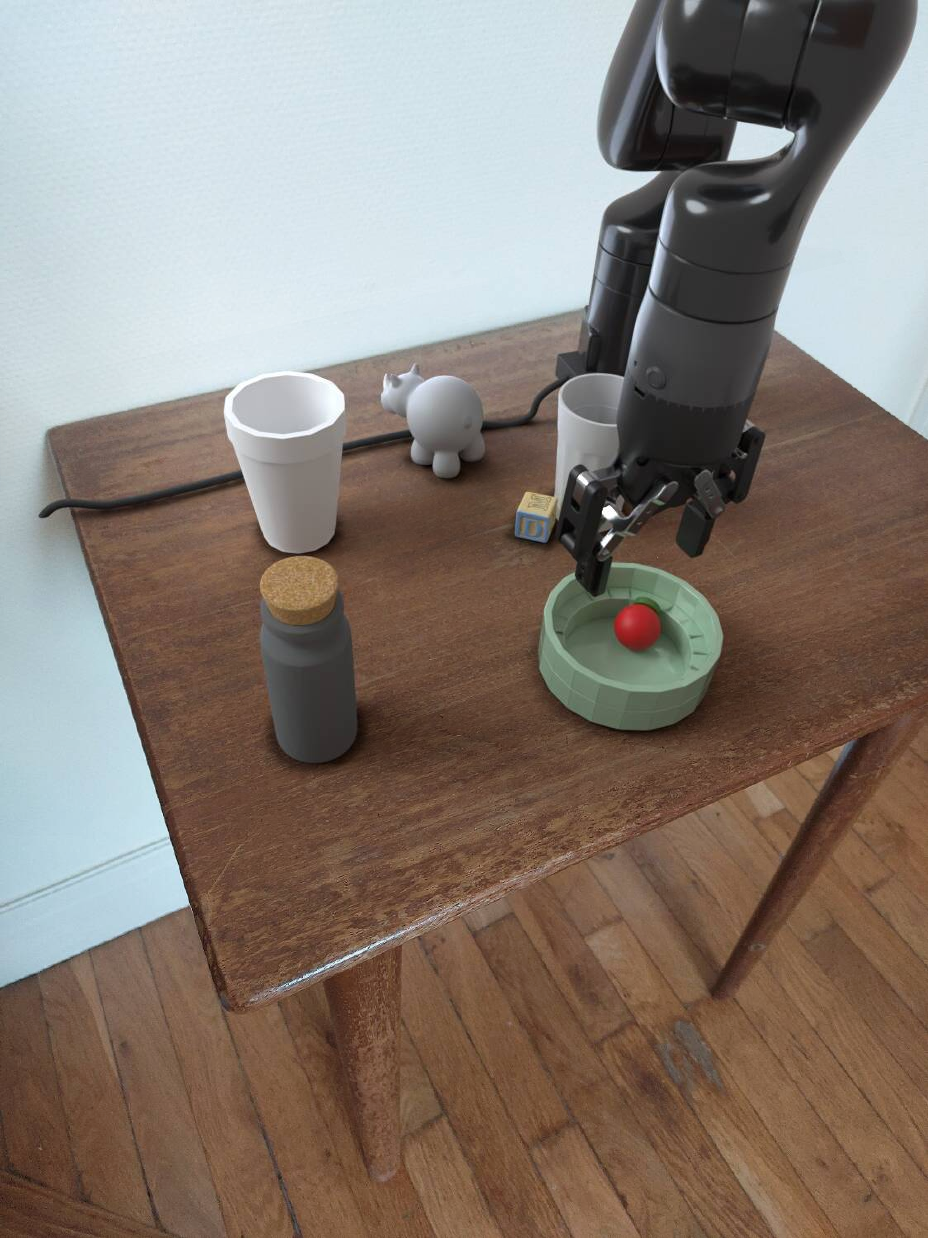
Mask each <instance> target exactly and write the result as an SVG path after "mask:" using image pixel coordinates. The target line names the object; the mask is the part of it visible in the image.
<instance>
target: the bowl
mask: <svg viewBox="0 0 928 1238" xmlns="http://www.w3.org/2000/svg"><path fill="white" fill-rule="evenodd" d="M638 597H647V598H650V599H652V600H654V601H655V602H657V603H658V605H659V606H660V613H659V615H658V617H659V620H660V623H661V631H660V635H659V637H658V639H657V641H656V642H655V643H654V644H653V645H652V646H650V647H648V648H646V649H643V650H632V649H629V648H626V647H625V646H623V645H622V644H621V643H620V642H619V641H618V639H617V637H616V635H615V632H614V623H615V619H616V617H617V615H618V614H619V612H620V611H621V610H623V609H624V608H625V607H627V606H630V605H632V604H633V602H634V600H635V599H636V598H638ZM723 641H724V632H723V629H722V625H721V622H720V618H719V615H718V613H717V612H716V611H715V609H714V608H713V606H712V605H711V603H710V602H709V600H708V599H707V598H706V596H705V595H703V594H702V593H701V592H699V590H698V589H696V588H695V587H693V586H692V585H691V584H690V583H689V582H688V581H686V580H684V579H682V578H680V577H678V576H676V575H674V574H672V573H670V572H668V571H666V570H665V569H661V568H658V567H653V566H649V565H645V564H641V563H635V562H618V561H617V562H616V561H614V562H613V561H612V564H611V569H610V573H609V577H608V582H607V586H606V590H605V593H604V594H602V595H599V596H597V597H593V596H592V595H591V594H590V593H589V592H587V591H586V590H585V589H584V588H583V587H582V586H581V584H580V583H579V582H578V581H577V580H576V578H575V571H574V572H573V573H570V574H569V575H566V576H565V577H564V578H563V579H561V580H560V582H559V583H558V584H557V585H556V586H555V587H554V588H553V589H552V590H551V591H550V593H549V596H548V598H547V601H546V603H545V606H544V609H543V614H542V621H541V627H540V634H539V640H538V648H537V656H538V657H537V658H538V668H539V671H540V673H541V675H542V678H543V679H544V682H545V684H546V687H547V688H548V689H549V692H551V693H552V694H553V696H555V697H556V699H558V700H559V701H560V702H561V703H562V704H563V705H564V706H565V707H566V708H567V709H568V710H570V711H571V712H573V713H575V714H576V715H579V716H580V717H582V718H584V719H586V720H587V721H589V722H591V723H594V724H597V725H601V726H604V727H607V728H612V729H615V730H620V731H652V730H655V729H660V728H664V727H667V726H671V725H674V724H676V723H678V722H680V721H681V720H682V719H684V718H686V717H687V716H689V715H690V714H692V713H694V711H695V710H696V709H697V707H698V706H699V705H700V703H701V702H702V701H703V699H704V697H705V696H706V695H707V692H708V689H709V687H710V684H711V681H712V679H713V676H714V673H715V671H716V668H717V665H718V662H719V660H720V657H721V653H722V648H723Z"/></svg>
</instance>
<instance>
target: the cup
mask: <svg viewBox="0 0 928 1238" xmlns="http://www.w3.org/2000/svg"><path fill="white" fill-rule="evenodd" d="M623 381H624V377H622V376H618V375H612V374H604V373H593V374H585V375H580V376H577V377H574V378H572V379H570V380H569V381H567V382H566V383H565V384H564V385H563V386H561V387H560V389H559V391H558V401H557V447H556V465H555V466H556V467H555V482H554V483H555V485H554V494H553V497H556V498H557V499H558V502H557V510H556V518H555V520H557V521H558V520H559V516H560V511H561V507H562V503H563V498H564V494H565V489H566V485H567V481H568V476H569V473H570V471H571V470H572V468H574V467H575V466H576V465H579V464H582V465H584V466H585V467H586V468H587V469H588V470H589V471H595V470H599V469H602V468H606V467H609V464H610V462H611V460H612V459H613V457H614V456H615V454H616V452H617V450H618V448H619V438H618V431H617V424H616V416H617V411H618V406H619V401H620V396H621V391H622V386H623ZM624 503H625V500H624V499H623V497H622V496H621V494H620V496H619V497H618V498H617V500H616V506H617V508H618V509H619V510H620V511H621V512H622V510H623V507H624ZM611 528H612V524H611V522H610V521H609V520H607V521H606V522H605V524H604V525H603V526H602V527H601V529H600V530H599V531H598V533H599V534H600V533H603V532H606V531H610V530H611Z"/></svg>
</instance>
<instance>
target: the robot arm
mask: <svg viewBox="0 0 928 1238" xmlns="http://www.w3.org/2000/svg"><path fill="white" fill-rule="evenodd" d="M918 11H919V0H635V2H634V5H633V6H632V10H631V12H630V14H629V16H628V19H627V21H626V24H625V27H624V29H623V31H622V34H621V37H620V38H619V41H618V44H617V46H616V48H615V50H614V53H613V56H612V58H611V60H610V64H609V66H608V68H607V72H606V75H605V79H604V82H603V85H602V88H601V93H600V96H599V103H598V107H597V115H596V142H597V146H598V150H599V152H600V155H601V158H602V159H603V160H604V161H605V162H606V164H607V165H608V166H610V167H612V169H613V168H614V169H615V170H619V171H623V172H632V173H653V172H655V173H657V172H658V173H657V175H656V176H654V177H653V178H652V179H650V181H648V182H646V184H644V185H642V186H640V187H638V188H637V189H634V190H633V191H631V192H629V193H626V194H624V195H623V196H619V197H618V198H616V199H615V200H613V201H611V203H610V204H608V205H607V206H606V208H605V209H604V212H603V214H602V216H601V221H600V227H599V234H598V242H597V248H596V254H595V260H594V267H593V273H592V280H591V287H590V293H589V298H588V299H589V300H588V304H586V305H585V306H584V307H583V312H582V319H581V325H580V332H579V338H578V346H577V350H574V351H573V350H572V351H569V352H563V353H562V352H561V353H558V354H557V357H556V365H555V371H554V372H555V373H554V375H555V377H556V378H557V380H554V381H553V382H551V383H550V384H548V385H546V386H545V387H544V388H542V389H541V390H540V391H539V392H538V393H537V394H536V396H535V397H534V399H533V401H532V403H531V407H530V409H529V411H528V412H527V413H525V414H524V415H521V416H520V417H518V418H515V419H512V420H506V421H494V420H493V421H491V420H483V423H482V427H481V429H486V430H487V429H490V430H491V429H502V428H511V427H518V426H522V425H525V424H526V423H528V422H530V421H532V420H533V419H534V418H535V417H536V415H537V414H538V411H539V409H540V405H541V403H542V402H543V400H544V399H545V398H546V397H547V396H548V395H550V394H551V393H553V392H554V391H557V390H558V389H559V388H561V387H562V386H563V385H564V384H565V383H566V382H567V381H569V380H570V379H572V378H574V377H577V376H580V375H585V374H593V373H604V374H612V375H618V376H622V377H624V381H623V386H622V391H621V396H620V401H619V406H618V411H617V416H616V424H617V431H618V438H619V448H618V450H617V452H616V454H615V456H614V457H613V459H612V460H611V462H610V464H609V467H606V468H602V469H599V470H595V471H589V470H588V469H587V468H586V467H585V466H584V465H582V464H579V465H576V466H575V467H574V468H572V470H571V471H570V473H569V476H568V481H567V485H566V489H565V494H564V498H563V503H562V507H561V511H560V516H559V520H557V525H556V529H555V533H554V538H555V539H556V541H557V542H558V543H559V544H560V545H562V546H563V547H564V548H565V550H566V551H567V552H568V553H569V554H570V555H571V557H572V559H573V560H574V561H575V562H576V566H575V571H574V572H575V578H576V580H577V581H578V582H579V583H580V584H581V586H582V587H583V588H584V589H585V590H586V591H587V592H589V593H590V594H591V595H592V596H593V597H597V596H599V595H602V594H604V593H605V590H606V586H607V582H608V577H609V573H610V569H611V564H612V562H613V559H614V556H613V553H615V551H616V550H617V549H618V548H619V546H620V545H621V544H622V543H623V542H624V540H625V539H626V538H627V537H635V536H636V535H638V533H639V532H640V531H641V530H642V528H643V527H644V526H645V525H646V524H647V523H648V521H649V520H650V519H651V518H652V517H653V516H656V515H659V514H660V513H663V512H664V511H666V510H667V509H673V508H678V507H682V506H684V509H683V512H682V515H681V519H680V522H679V525H678V528H677V532H676V536H675V543H676V545H677V546H678V547H679V548H680V550H681V551H682V552H684V554H686V556H688V558H690V559H695V558H697V557H700V556H702V555H703V553H704V550H705V547H706V545H707V544H708V543H709V541H710V537H711V534H712V532H713V529H714V525H715V523H716V520H717V519H718V518H719V517H721V516H723V514H724V513H725V511H726V508H727V505H728V504H730V503H731V502H733V503H734V504H735V505H737V504H741V503H742V502H743V501H745V499H746V498H747V497H748V495H749V492H750V489H751V486H752V482H753V479H754V475H755V473H756V469H757V465H758V462H759V459H760V456H761V452H762V450H763V446H764V442H765V439H766V433H765V432H764V431H763V430H762V429H760V428H759V427H758V426H756V425H755V424H754V423H753V422H751V420H749V419H748V417H749V413H750V411H751V408H752V404H753V401H754V399H755V396H756V393H757V389H758V387H759V384H760V381H761V378H762V375H763V372H764V368H765V365H766V363H767V362H766V361H767V359H768V357H769V353H770V350H771V346H772V343H773V338H774V333H775V332H774V331H775V326H776V319H777V316H778V312H779V308H780V304H781V301H782V298H783V295H784V292H785V289H786V286H787V283H788V281H789V276H790V275H791V271H792V267H793V264H794V261H795V258H796V256H797V252H798V249H799V246H800V243H801V241H802V238H803V235H804V233H805V230H806V228H807V226H808V223H809V221H810V218H811V216H812V214H813V212H814V209H815V207H816V205H817V203H818V201H819V199H820V197H821V195H822V194H823V192H824V190H825V188H826V186H827V185H828V183H829V181H830V179H831V177H832V176H833V174H834V172H835V170H836V169H837V168H838V166H839V164H840V162H841V161H842V159H843V158H844V156H845V154H846V153H847V151H848V150H849V148H850V146H851V145H852V144H853V141H854V140H856V138H857V136H858V134H859V133H860V131H861V130H862V128H863V127H864V126H865V124H866V123H867V122H868V120H869V118H870V116H871V115H872V114H873V112H874V110H875V109H876V108H877V107H878V106H879V105H878V104H879V103H880V101H881V100H882V98H883V97H884V96H885V94H886V92H887V91H888V89H889V88H890V85H891V84H892V82H893V80H894V79H895V78H896V75H897V74H898V72H899V70H900V68H901V67H902V64H903V62H904V61H905V58H906V56H907V54H908V52H909V48H910V46H911V43H912V41H913V38H914V33H915V29H916V25H917V21H918ZM738 122H739V123H744V124H750V125H755V126H762V127H767V128H772V129H778V130H783V129H785V131H786V132H789V133H792V134H793V137H792V139H790V141H788V143H786V144H785V145H784V146H783V147H781V148H780V149H778V150H777V151H776V152H773V153H772V154H770V155H766V156H763V157H757V158H751V159H736V160H734V159H733V160H729V156H730V153H731V149H732V146H733V142H734V139H735V135H736V130H737V127H738V124H739V123H738ZM409 438H414V437H413V435H412V433H411V432H410V429H405V430H399V431H394V432H388V433H383V434H378V435H373V436H369V437H363V438H360V439H355V440H351V441H347V442H343V447H342V453H343V452H347V451H350V450H355V449H359V448H364V447H369V446H373V445H377V444H383V443H386V442H393V441H396V440H402V439H409ZM732 472H733V473H734V476H732V475H731V473H732ZM241 479H244V476H243V473H242V470H241V469H240V470H235V471H232V472H228V473H224V474H221V475H220V474H219V475H216V476H213V477H209V478H204V479H201V480H197V481H193V482H188V483H185V484H180V485H176V486H173V487H168V488H164V489H161V490H160V489H159V490H155V491H151V492H147V493H143V494H138V495H133V496H127V497H123V498H122V497H121V498H115V499H109V500H94V499H93V500H92V499H91V500H90V499H81V498H62V499H59V500H55V501H52V502H50V503H49V504H48V505H46V506H45V507H43V508H42V510H41V511H40V513H39V514H38V518H40V519H46V518H49V517H50V516H51V515H52V514H54V512H56V511H58V510H61V509H66V508H76V509H88V510H112V509H119V508H124V507H130V506H136V505H142V504H146V503H149V502H154V501H158V500H162V499H166V498H171V497H174V496H180V495H182V494H186V493H191V492H195V491H199V490H203V489H207V488H210V487H214V486H219V485H222V484H226V483H229V482H233V481H237V480H241ZM620 494H621V496H622V497H623V499H624V502H626V504H627V505H628V506H629V507H630V508H632V510H633V511H632V512H631V513H630V514H629V516H627V515H625V514H624V512H622V511H620V510H619V509H618V508H617V506H616V500H617V498H618V497H619V496H620ZM689 499H690V500H689ZM688 500H689V501H688ZM607 520H609V521H610V522H611V524H612V528H611V529H609V530H608V532H607V534H606V535H605V536H602V534H601V533H600V532H599V533H598V531H599V530H600V529H601V527H602V526H603V525H604V524H605V522H606V521H607Z"/></svg>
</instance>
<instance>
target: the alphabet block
mask: <svg viewBox="0 0 928 1238" xmlns="http://www.w3.org/2000/svg"><path fill="white" fill-rule="evenodd" d="M557 502H558V499H557V498H556V497H554V496H551V495H546V494H541V493H537V492H531V491H526V492H525V493H524V495H523V497H522V499H521V501H520V503H519V506H518V508H517V510H516V513H515V514H516V515H515V526H514V536H515V537H516V538H519V539H520V538H521V539H525V540H528V541H529V540H530V541H534V542H539V543H542V544H543V543H544V544H545V543H548V541H549V538H550V536H551V534H552V531H553V529H554V526H555V523H556V510H557Z"/></svg>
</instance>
